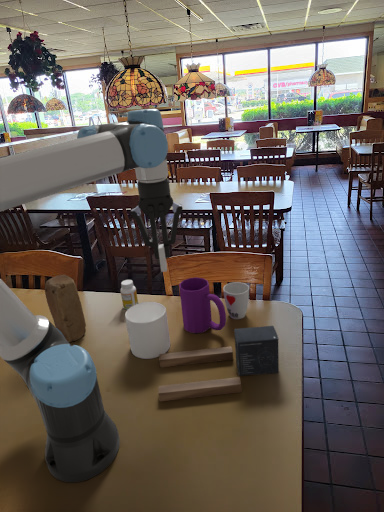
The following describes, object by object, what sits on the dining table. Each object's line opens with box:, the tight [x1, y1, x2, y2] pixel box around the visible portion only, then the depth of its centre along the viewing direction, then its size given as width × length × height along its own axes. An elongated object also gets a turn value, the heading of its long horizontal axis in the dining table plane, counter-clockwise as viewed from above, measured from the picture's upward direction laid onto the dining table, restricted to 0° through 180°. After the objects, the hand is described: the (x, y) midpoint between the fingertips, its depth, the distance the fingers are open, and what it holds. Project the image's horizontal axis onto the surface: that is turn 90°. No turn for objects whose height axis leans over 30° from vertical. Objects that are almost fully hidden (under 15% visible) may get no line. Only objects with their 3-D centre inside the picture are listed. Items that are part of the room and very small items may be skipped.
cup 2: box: [223, 281, 250, 320], centre depth 122 cm, size 8×8×10 cm
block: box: [44, 274, 87, 343], centre depth 118 cm, size 11×8×20 cm
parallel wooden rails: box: [158, 345, 242, 402], centre depth 99 cm, size 15×20×2 cm
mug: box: [178, 276, 227, 334], centre depth 116 cm, size 9×16×15 cm, turn 51°
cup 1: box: [124, 301, 171, 360], centre depth 110 cm, size 12×12×12 cm
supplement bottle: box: [120, 279, 139, 311], centre depth 134 cm, size 5×5×10 cm
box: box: [233, 325, 280, 377], centre depth 99 cm, size 11×7×10 cm, turn 91°
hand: (164, 269), depth 99 cm, fingers closed
